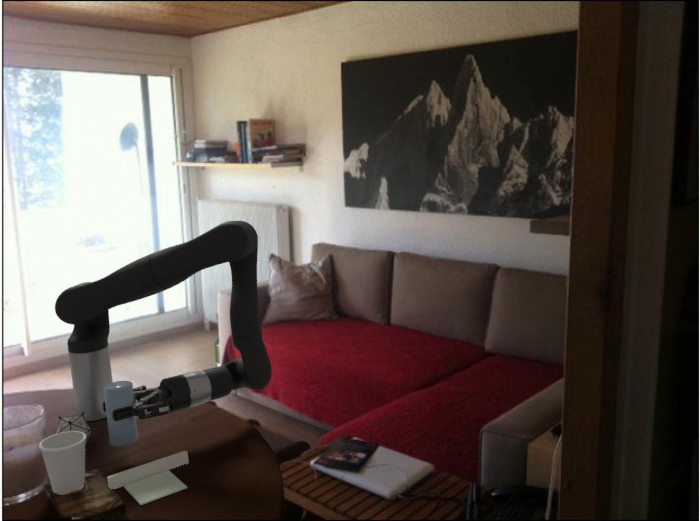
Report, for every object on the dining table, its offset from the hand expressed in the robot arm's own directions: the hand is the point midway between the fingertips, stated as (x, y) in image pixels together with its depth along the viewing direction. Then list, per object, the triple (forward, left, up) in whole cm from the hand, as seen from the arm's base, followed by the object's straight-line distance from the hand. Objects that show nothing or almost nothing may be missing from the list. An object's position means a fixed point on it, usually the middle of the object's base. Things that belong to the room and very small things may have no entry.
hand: (108, 411), depth 133 cm
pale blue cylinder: (0, +2, -7) cm, 8 cm away
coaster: (+15, +3, -12) cm, 19 cm away
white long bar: (+10, +4, -12) cm, 16 cm away
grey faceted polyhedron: (-14, -4, -12) cm, 19 cm away
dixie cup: (+4, -10, -12) cm, 16 cm away
